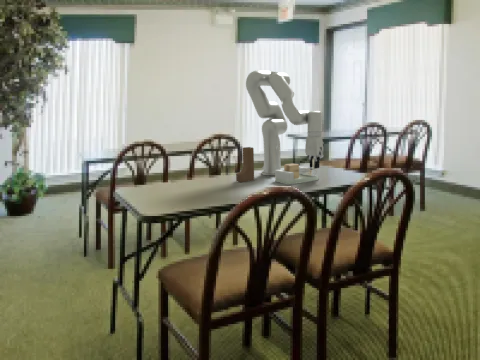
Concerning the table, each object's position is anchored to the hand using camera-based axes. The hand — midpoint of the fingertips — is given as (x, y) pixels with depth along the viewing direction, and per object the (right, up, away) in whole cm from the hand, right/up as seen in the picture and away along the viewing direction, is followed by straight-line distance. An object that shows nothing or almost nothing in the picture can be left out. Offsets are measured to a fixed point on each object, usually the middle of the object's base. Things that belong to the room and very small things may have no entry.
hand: (314, 167), depth 267 cm
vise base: (-10, -7, -5) cm, 14 cm away
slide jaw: (-2, -4, -1) cm, 5 cm away
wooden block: (-38, -8, -3) cm, 39 cm away
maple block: (-13, -6, -8) cm, 16 cm away
